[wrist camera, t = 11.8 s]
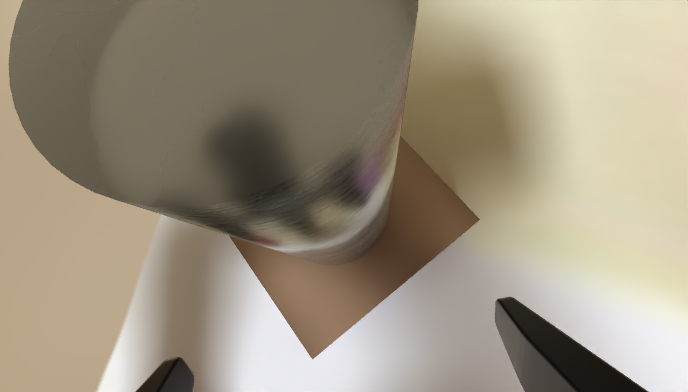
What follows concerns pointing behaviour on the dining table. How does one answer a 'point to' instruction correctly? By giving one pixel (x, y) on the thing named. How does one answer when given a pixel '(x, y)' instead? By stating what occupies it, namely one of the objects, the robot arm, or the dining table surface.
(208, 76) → the tea tin
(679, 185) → the dining table surface
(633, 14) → the dining table surface
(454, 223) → the walnut box
